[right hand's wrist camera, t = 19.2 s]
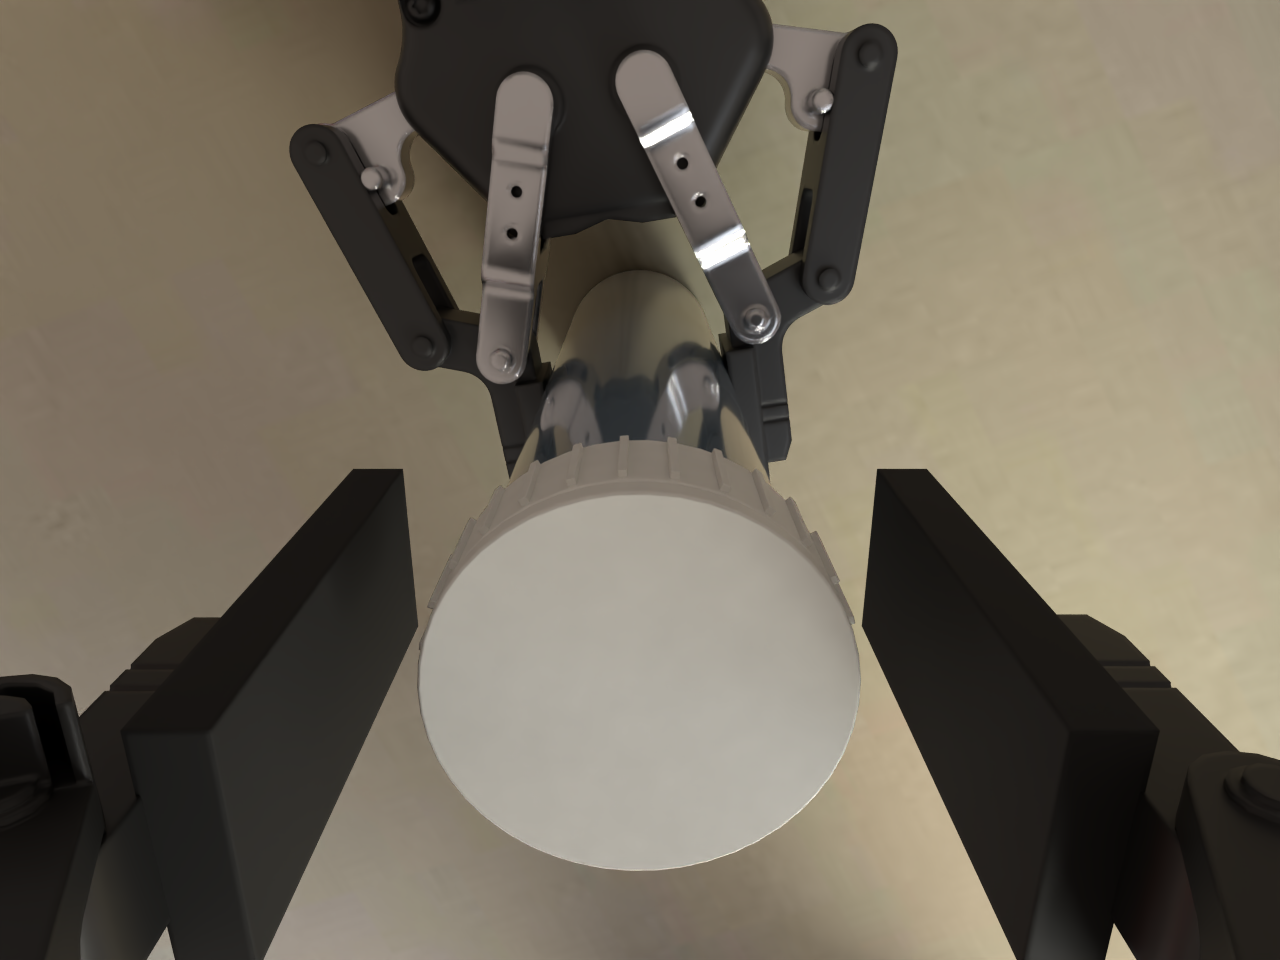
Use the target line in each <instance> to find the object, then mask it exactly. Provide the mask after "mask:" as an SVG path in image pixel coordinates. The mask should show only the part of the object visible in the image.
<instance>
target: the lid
mask: <svg viewBox="0 0 1280 960" xmlns="http://www.w3.org/2000/svg"><path fill="white" fill-rule="evenodd" d="M838 582H840V580H839V578H838V576H837V574H836V572H835V570H834V567H833V565H832V563H831V561H830V559H829V557H828V554H827V552H826V550H825V548H824V546H823V544H822V541H821V539H820V537H819V535H818V533H817V532H816V531H815V532H813V533H811V534H810V533H809V531H808V529H807V528H806V526H805V523H804V521H803V519H802V516H801V514H800V512H799V510H798V507H797V505H796V503H795V501H794V500H793V499H792V498H791V497H789V498H788V499H787V500H785V499H784V498H783V497H782V496H780V495H779V494H778V493H777V492H776V491H775V490H774V489H773V488H772V487H771V486H770V485H769V484H767V483H766V482H765V479H764V476H763V474H762V472H760V471H759V470H757V469H755V470H754V471H753V472H750V471H749V470H747V469H745V468H743V467H741V466H740V465H738V464H736V463H734V462H732V461H730V460H728V459H726V458H724V457H723V454H722V451H721V450H718V449H715V448H714V449H713V451H712V453H710V452H708V451H705V450H702V449H699V448H695V447H690V446H686V445H682V444H678V443H677V440H676V438H672V437H668V439H667V442H662V441H652V440H629V436H628V435H625V436H620V441H615V442H608V443H602V444H595V445H591V446H587V447H584V448H583V446H582V443H578V444H575V445H573V449H572V451H570V452H567V453H565V454H562V455H560V456H557V457H555V458H553V459H550V460H548V461H546V462H544V463H542V464H540V462H539V461H538V460H536V461H534V462H532V463H531V464H530V467H529V470H528V472H527V473H525V474H523V475H522V476H520V477H519V478H518V479H517V480H515V481H514V482H513V483H511V484H510V485H509V486H508V487H506V488H505V489H504V488H503V487H502V486H499V487H498V488H496V489H495V491H494V493H493V495H492V498H491V500H490V502H489V505H488V506H487V507H486V508H485V509H484V511H483V512H482V514H481V515H480V516H479V518H478V519H477V520H474V519H473V518H470V519H469V521H468V522H467V524H466V526H465V528H464V530H463V533H462V535H461V537H460V539H459V541H458V543H457V546H456V548H455V550H454V552H453V554H451V555H450V558H449V560H448V562H447V564H446V566H445V568H444V570H443V573H442V575H441V577H440V579H439V581H438V583H437V586H436V588H435V590H434V592H433V594H432V596H431V598H430V601H429V604H428V608H431V609H433V611H432V613H431V615H430V618H429V621H428V624H427V627H426V630H425V632H424V634H423V636H422V639H421V641H420V645H419V650H420V655H419V661H418V687H417V688H418V696H419V704H420V712H421V716H422V719H423V723H424V726H425V730H426V733H427V737H428V739H429V742H430V744H431V746H432V748H433V751H434V753H435V755H436V757H437V759H438V761H439V763H440V764H441V766H442V768H443V769H444V771H445V772H446V774H447V776H448V777H449V779H450V780H451V782H452V783H453V784H454V785H455V787H456V788H457V789H458V790H459V791H460V793H461V794H462V795H463V796H464V798H465V799H466V800H467V801H468V802H469V803H470V804H471V805H472V806H473V807H474V808H476V809H477V810H478V811H479V812H480V813H481V814H482V815H483V816H484V817H485V818H486V819H488V820H489V821H491V822H492V823H493V824H495V825H496V826H497V827H499V828H500V829H502V830H503V831H504V832H506V833H507V834H509V835H511V836H513V837H514V838H516V839H518V840H520V841H521V842H523V843H525V844H527V845H529V846H531V847H533V848H535V849H538V850H540V851H543V852H545V853H547V854H550V855H552V856H555V857H558V858H561V859H565V860H568V861H571V862H575V863H578V864H583V865H588V866H594V867H599V868H604V869H616V870H628V871H643V870H663V869H671V868H680V867H686V866H690V865H694V864H699V863H703V862H708V861H711V860H714V859H717V858H720V857H723V856H725V855H728V854H731V853H734V852H736V851H738V850H740V849H743V848H745V847H747V846H749V845H751V844H753V843H755V842H757V841H759V840H761V839H762V838H764V837H766V836H767V835H769V834H770V833H772V832H774V831H775V830H777V829H778V828H780V827H781V826H782V825H784V824H785V823H786V822H787V821H789V820H790V819H791V818H793V817H794V816H795V815H796V814H798V813H799V812H800V811H801V810H802V809H803V808H804V807H805V806H806V805H807V804H808V803H809V802H810V801H811V800H812V799H813V798H814V797H815V796H816V795H817V793H818V792H819V791H820V789H821V788H822V787H823V785H824V784H825V783H826V781H827V780H828V779H829V778H830V776H831V775H832V773H833V772H834V770H835V768H836V766H837V764H838V763H839V761H840V759H841V757H842V756H843V754H844V752H845V749H846V746H847V744H848V741H849V739H850V736H851V734H852V731H853V728H854V724H855V719H856V715H857V711H858V706H859V697H860V684H861V676H860V663H859V653H858V649H857V645H856V641H855V636H854V632H853V629H852V626H851V624H855V620H854V616H853V614H852V612H851V610H850V607H849V605H848V603H847V601H846V599H845V596H844V594H843V592H842V590H841V588H840V585H839V583H838Z"/></svg>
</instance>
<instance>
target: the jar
mask: <svg viewBox="0 0 1280 960" xmlns="http://www.w3.org/2000/svg"><path fill="white" fill-rule="evenodd" d="M625 435H628V436H629V440H652V441H662V442H667V439H668V437H672V438H676V440H677V443H678V444H682V445H686V446H690V447H695V448H699V449H702V450H705V451H708V452H710V453H712V451H713V449H714V448H715V449H718V450H721V451H722V454H723V457H724V458H726V459H728V460H730V461H732V462H734V463H736V464H738V465H740V466H741V467H743V468H745V469H747V470H749V471H750V472H753V471H754V470H755V469H757V470H759V471H760V472H762V474H763V476H764V479H765V482H766V483H767V484H769V485H770V486H771V484H770V481H769V479H768V476H767V473H766V471H765V468H764V466H763V463H762V461H761V458H760V455H759V453H758V450H757V448H756V445H755V443H754V440H753V437H752V435H751V432H750V430H749V427H748V424H747V422H746V419H745V417H744V414H743V412H742V409H741V406H740V404H739V401H738V399H737V396H736V394H735V391H734V388H733V386H732V383H731V381H730V378H729V375H728V373H727V370H726V368H725V365H724V363H723V360H722V357H721V355H720V352H719V350H718V347H717V344H716V342H715V339H714V337H713V334H712V332H711V329H710V326H709V324H708V321H707V319H706V316H705V314H704V311H703V309H702V307H701V305H700V304H699V302H698V300H697V299H696V298H695V296H694V295H693V294H692V293H691V292H690V291H689V290H688V289H687V288H686V287H685V286H684V285H682V284H681V283H680V282H678V281H676V280H675V279H673V278H671V277H669V276H667V275H664V274H662V273H658V272H654V271H647V270H632V271H625V272H621V273H618V274H615V275H613V276H610V277H608V278H606V279H605V280H603V281H601V282H600V283H598V284H597V285H596V286H595V287H593V288H592V289H591V290H590V291H589V292H588V293H587V294H586V295H585V297H584V298H583V300H582V301H581V302H580V304H579V306H578V308H577V310H576V312H575V314H574V317H573V319H572V322H571V325H570V327H569V330H568V332H567V335H566V337H565V340H564V342H563V345H562V348H561V350H560V353H559V355H558V358H557V360H556V363H555V365H554V368H553V371H552V373H551V376H550V378H549V381H548V383H547V386H546V388H545V391H544V394H543V396H542V399H541V401H540V404H539V406H538V409H537V411H536V414H535V416H534V419H533V422H532V424H531V427H530V429H529V432H528V434H527V437H526V439H525V442H524V445H523V447H522V450H521V452H520V455H519V457H518V460H517V462H516V465H515V468H514V470H513V473H512V475H511V478H510V480H509V483H508V485H507V487H508V486H509V485H510V484H511V483H513V482H514V481H515V480H517V479H518V478H519V477H520V476H522V475H523V474H525V473H527V472H528V470H529V467H530V464H531V463H532V462H534V461H536V460H538V461H539V462H540V464H542V463H544V462H546V461H548V460H550V459H553V458H555V457H557V456H560V455H562V454H565V453H567V452H570V451H572V449H573V445H575V444H578V443H582V446H583V448H584V447H587V446H591V445H595V444H602V443H608V442H615V441H620V436H625ZM771 487H772V486H771Z"/></svg>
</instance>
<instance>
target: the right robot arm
mask: <svg viewBox="0 0 1280 960" xmlns="http://www.w3.org/2000/svg"><path fill="white" fill-rule="evenodd" d="M417 627H418V620H417V609H416V599H415V589H414V579H413V569H412V558H411V548H410V538H409V528H408V517H407V507H406V497H405V487H404V476H403V469H353V470H352V471H351V472H350V473H349V474H348V475H347V477H346V478H345V479H344V480H343V481H342V482H341V483H340V484H339V486H338V487H337V488H336V489H335V490H334V491H333V492H332V493H331V495H330V496H329V497H328V498H327V499H326V500H325V501H324V502H323V504H322V505H321V506H320V507H319V508H318V509H317V510H316V511H315V512H314V514H313V515H312V516H311V517H310V518H309V519H308V520H307V521H306V523H305V524H304V525H303V526H302V527H301V528H300V529H299V530H298V532H297V533H296V534H295V535H294V536H293V537H292V538H291V539H290V541H289V542H288V543H287V544H286V545H285V546H284V547H283V548H282V550H281V551H280V552H279V553H278V554H277V555H276V556H275V557H274V558H273V560H272V561H271V562H270V563H269V564H268V565H267V566H266V567H265V569H264V570H263V571H262V572H261V573H260V574H259V575H258V576H257V578H256V579H255V580H254V581H253V582H252V583H251V584H250V585H249V587H248V588H247V589H246V590H245V591H244V592H243V593H242V594H241V595H240V597H239V598H238V599H237V600H236V601H235V602H234V603H233V604H232V606H231V607H230V608H229V609H228V610H227V611H226V612H225V613H224V615H223V616H222V617H221V618H192V619H190V620H189V621H187V622H185V623H183V624H182V625H180V626H178V627H176V628H175V629H173V630H171V631H169V632H168V633H166V634H164V635H162V636H161V637H159V638H157V639H155V641H154V642H153V643H152V644H151V645H150V646H149V647H148V648H147V649H146V650H145V651H144V652H143V653H142V654H141V655H140V656H139V657H138V658H137V659H136V660H135V661H134V662H133V663H132V664H131V669H130V670H125V671H124V672H123V673H122V674H121V675H120V676H119V677H118V678H117V679H116V680H115V681H114V682H113V683H112V684H111V685H110V691H104V692H103V693H102V694H101V695H100V696H99V697H98V698H97V699H96V700H95V701H94V702H93V703H92V705H91V706H90V707H89V708H88V709H87V710H86V711H85V712H84V713H83V714H82V715H81V716H80V717H79V716H78V712H77V708H76V704H75V701H74V697H73V693H72V689H71V687H70V686H69V685H67V684H66V683H64V682H63V681H61V680H60V679H58V678H56V677H49V676H42V675H35V674H28V675H17V676H6V677H0V960H147V958H148V956H149V955H150V953H151V951H152V950H153V948H154V947H155V945H156V943H157V942H158V940H159V938H160V937H161V935H162V933H163V932H164V930H165V928H166V927H167V928H168V932H169V937H170V941H171V945H172V949H173V953H174V957H175V960H263V959H264V957H265V955H266V953H267V951H268V948H269V946H270V944H271V942H272V940H273V938H274V936H275V933H276V931H277V929H278V927H279V925H280V923H281V920H282V918H283V916H284V914H285V912H286V910H287V908H288V905H289V903H290V901H291V899H292V897H293V895H294V892H295V890H296V888H297V886H298V884H299V882H300V879H301V877H302V875H303V873H304V871H305V869H306V867H307V864H308V862H309V860H310V858H311V856H312V854H313V851H314V849H315V847H316V845H317V843H318V841H319V839H320V836H321V834H322V832H323V830H324V828H325V826H326V823H327V821H328V819H329V817H330V815H331V813H332V810H333V808H334V806H335V804H336V802H337V800H338V798H339V795H340V793H341V791H342V789H343V787H344V785H345V782H346V780H347V778H348V776H349V774H350V772H351V770H352V767H353V765H354V763H355V761H356V759H357V757H358V754H359V752H360V750H361V748H362V746H363V744H364V741H365V739H366V737H367V735H368V733H369V731H370V729H371V726H372V724H373V722H374V720H375V718H376V716H377V713H378V711H379V709H380V707H381V705H382V703H383V701H384V698H385V696H386V694H387V692H388V690H389V688H390V685H391V683H392V681H393V679H394V677H395V675H396V672H397V670H398V668H399V666H400V664H401V662H402V660H403V657H404V655H405V653H406V651H407V649H408V647H409V644H410V642H411V640H412V638H413V636H414V634H415V632H416V629H417ZM862 627H863V629H864V632H865V634H866V636H867V638H868V640H869V642H870V644H871V647H872V649H873V651H874V653H875V655H876V657H877V660H878V662H879V664H880V666H881V668H882V670H883V672H884V675H885V677H886V679H887V681H888V683H889V685H890V688H891V690H892V692H893V694H894V696H895V698H896V701H897V703H898V705H899V707H900V709H901V711H902V713H903V716H904V718H905V720H906V722H907V724H908V726H909V729H910V731H911V733H912V735H913V737H914V739H915V741H916V744H917V746H918V748H919V750H920V752H921V754H922V757H923V759H924V761H925V763H926V765H927V767H928V770H929V772H930V774H931V776H932V778H933V780H934V782H935V785H936V787H937V789H938V791H939V793H940V795H941V798H942V800H943V802H944V804H945V806H946V808H947V810H948V813H949V815H950V817H951V819H952V821H953V823H954V826H955V828H956V830H957V832H958V834H959V836H960V839H961V841H962V843H963V845H964V847H965V849H966V851H967V854H968V856H969V858H970V860H971V862H972V864H973V867H974V869H975V871H976V873H977V875H978V877H979V879H980V882H981V884H982V886H983V888H984V890H985V892H986V895H987V897H988V899H989V901H990V903H991V905H992V908H993V910H994V912H995V914H996V916H997V918H998V920H999V923H1000V925H1001V927H1002V929H1003V931H1004V933H1005V936H1006V938H1007V940H1008V942H1009V944H1010V946H1011V948H1012V951H1013V953H1014V955H1015V957H1016V959H1017V960H1105V957H1106V953H1107V949H1108V945H1109V941H1110V937H1111V932H1112V928H1113V924H1115V925H1116V927H1117V929H1118V930H1119V932H1120V934H1121V935H1122V937H1123V938H1124V940H1125V942H1126V943H1127V945H1128V947H1129V948H1130V950H1131V952H1132V953H1133V955H1134V956H1135V958H1136V960H1280V760H1277V759H1274V758H1270V757H1267V756H1263V755H1260V754H1255V753H1245V752H1239V751H1238V750H1237V749H1236V748H1235V747H1234V746H1233V745H1232V744H1231V743H1230V742H1229V741H1228V740H1227V739H1226V738H1225V737H1224V736H1223V735H1222V734H1221V733H1220V731H1219V730H1218V729H1217V728H1216V727H1215V726H1214V725H1213V724H1212V723H1211V722H1210V721H1209V720H1208V719H1207V718H1206V717H1205V716H1204V715H1203V714H1202V713H1201V712H1200V711H1199V710H1198V709H1197V708H1196V707H1195V706H1194V705H1193V704H1192V703H1191V702H1190V701H1189V700H1188V699H1187V698H1186V697H1185V696H1184V695H1183V694H1182V693H1181V692H1180V691H1179V690H1178V689H1177V688H1171V682H1170V681H1169V680H1168V679H1167V678H1166V677H1165V676H1164V675H1163V674H1162V673H1161V672H1160V671H1159V670H1158V669H1157V668H1156V667H1155V666H1150V661H1149V660H1148V659H1147V658H1146V657H1145V656H1144V655H1143V654H1142V653H1141V652H1140V651H1139V650H1138V649H1137V648H1136V647H1135V646H1134V645H1133V644H1132V643H1131V642H1130V641H1129V640H1128V639H1127V638H1126V637H1125V636H1124V635H1122V634H1120V633H1118V632H1117V631H1115V630H1113V629H1111V628H1110V627H1108V626H1106V625H1104V624H1103V623H1101V622H1099V621H1097V620H1095V619H1094V618H1092V617H1090V616H1088V615H1056V613H1055V612H1054V611H1053V610H1052V609H1051V608H1050V607H1049V606H1048V604H1047V603H1046V602H1045V601H1044V600H1043V599H1042V598H1041V597H1040V595H1039V594H1038V593H1037V592H1036V591H1035V590H1034V589H1033V588H1032V587H1031V585H1030V584H1029V583H1028V582H1027V581H1026V580H1025V579H1024V578H1023V576H1022V575H1021V574H1020V573H1019V572H1018V571H1017V570H1016V569H1015V567H1014V566H1013V565H1012V564H1011V563H1010V562H1009V561H1008V560H1007V558H1006V557H1005V556H1004V555H1003V554H1002V553H1001V552H1000V551H999V550H998V548H997V547H996V546H995V545H994V544H993V543H992V542H991V541H990V539H989V538H988V537H987V536H986V535H985V534H984V533H983V532H982V530H981V529H980V528H979V527H978V526H977V525H976V524H975V523H974V521H973V520H972V519H971V518H970V517H969V516H968V515H967V514H966V512H965V511H964V510H963V509H962V508H961V507H960V506H959V505H958V504H957V502H956V501H955V500H954V499H953V498H952V497H951V496H950V495H949V493H948V492H947V491H946V490H945V489H944V488H943V487H942V486H941V484H940V483H939V482H938V481H937V480H936V479H935V478H934V477H933V475H932V474H931V473H930V472H929V471H928V470H927V469H877V476H876V487H875V497H874V507H873V517H872V528H871V538H870V548H869V558H868V568H867V579H866V589H865V599H864V609H863V620H862Z"/></svg>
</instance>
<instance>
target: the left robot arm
mask: <svg viewBox="0 0 1280 960" xmlns="http://www.w3.org/2000/svg"><path fill="white" fill-rule="evenodd" d="M398 3H399V8H400V12H401V18H402V47H401V53H400V58H399V62H398V65H397V68H396V73H395V92H393V93H391V94H389V95H387V96H385V97H383V98H382V99H380V100H378V101H376V102H374V103H372V104H370V105H368V106H366V107H364V108H362V109H360V110H359V111H357V112H355V113H353V114H351V115H349V116H347V117H345V118H343V119H341V120H339V121H338V122H336V123H333V124H324V123H323V124H309V125H305V126H303V127H301V128H300V129H298V130H297V131H296V132H295V133H294V135H293V137H292V139H291V141H290V146H289V152H290V157H291V161H292V163H293V165H294V167H295V169H296V170H297V172H298V174H299V176H300V178H301V179H302V181H303V183H304V185H305V186H306V188H307V190H308V192H309V194H310V195H311V197H312V199H313V201H314V202H315V204H316V206H317V208H318V210H319V211H320V213H321V215H322V217H323V219H324V220H325V222H326V224H327V226H328V227H329V229H330V231H331V233H332V235H333V236H334V238H335V240H336V242H337V243H338V245H339V247H340V249H341V251H342V252H343V254H344V256H345V258H346V260H347V261H348V263H349V265H350V267H351V268H352V270H353V272H354V274H355V276H356V277H357V279H358V281H359V283H360V285H361V286H362V288H363V290H364V292H365V293H366V295H367V297H368V299H369V301H370V302H371V304H372V306H373V308H374V309H375V311H376V313H377V315H378V317H379V318H380V320H381V322H382V324H383V326H384V327H385V329H386V331H387V333H388V334H389V336H390V338H391V340H392V342H393V343H394V345H395V347H396V349H397V350H398V352H399V354H400V356H401V357H402V359H403V360H404V361H405V362H406V364H408V365H409V366H410V367H412V368H414V369H417V370H422V371H428V370H432V369H435V368H437V367H442V368H447V369H453V370H458V371H463V372H467V373H470V374H473V375H474V376H476V377H478V378H479V379H480V380H481V381H482V382H483V383H484V384H485V385H486V387H487V388H488V390H489V392H490V395H491V398H492V403H493V407H494V412H495V416H496V421H497V425H498V430H499V434H500V438H501V443H502V446H503V452H504V456H505V461H506V465H507V470H508V474H509V478H511V475H512V473H513V470H514V468H515V465H516V462H517V460H518V457H519V455H520V452H521V450H522V447H523V445H524V442H525V439H526V437H527V434H528V432H529V429H530V427H531V424H532V422H533V419H534V416H535V414H536V411H537V409H538V406H539V404H540V401H541V399H542V396H543V394H544V391H545V388H546V386H547V383H548V381H549V378H550V376H551V373H552V368H551V363H550V362H546V363H541V358H540V353H539V348H538V343H537V338H538V330H539V322H540V314H541V305H542V297H543V289H544V282H545V276H546V272H547V267H548V260H549V253H550V244H551V238H554V237H560V236H566V235H572V234H576V233H578V232H580V231H583V230H585V229H587V228H589V227H591V226H593V225H595V224H597V223H600V222H602V221H604V220H607V219H614V220H624V221H633V222H642V223H643V222H649V221H655V220H661V219H667V218H673V217H676V216H677V218H678V220H679V222H680V224H681V227H682V229H683V231H684V233H685V235H686V237H687V239H688V241H689V243H690V245H691V247H692V249H693V251H694V253H695V255H696V257H697V259H698V261H699V263H700V266H701V268H702V270H703V272H704V274H705V276H706V278H707V280H708V282H709V284H710V286H711V288H712V290H713V292H714V294H715V296H716V299H717V301H718V303H719V305H720V307H721V309H722V311H723V313H724V320H725V328H726V333H723V334H718V335H719V342H720V350H721V357H722V360H723V363H724V365H725V368H726V370H727V373H728V375H729V378H730V381H731V383H732V386H733V388H734V391H735V394H736V396H737V399H738V401H739V404H740V406H741V409H742V412H743V414H744V417H745V419H746V422H747V424H748V427H749V430H750V432H751V435H752V437H753V440H754V443H755V445H756V448H757V450H758V453H759V455H760V458H761V461H762V463H763V466H764V468H765V471H766V473H767V476H768V479H769V481H770V477H769V468H768V462H775V461H781V460H786V458H787V454H788V451H789V448H790V444H791V441H792V438H791V429H790V420H789V411H788V404H787V392H786V383H785V374H784V365H783V356H782V341H783V337H784V335H785V332H786V331H787V329H788V327H789V326H790V325H791V324H792V323H793V322H794V321H795V320H797V319H798V318H800V317H801V316H803V315H805V314H807V313H809V312H811V311H813V310H814V309H816V308H818V307H820V306H822V305H831V304H835V303H838V302H840V301H842V300H843V299H844V298H845V297H846V296H847V295H848V294H849V293H850V291H851V289H852V287H853V284H854V280H855V275H856V269H857V264H858V259H859V254H860V249H861V243H862V238H863V233H864V228H865V223H866V217H867V212H868V207H869V202H870V197H871V191H872V186H873V181H874V176H875V170H876V165H877V160H878V155H879V150H880V144H881V139H882V134H883V129H884V124H885V118H886V113H887V108H888V103H889V98H890V92H891V87H892V82H893V77H894V71H895V66H896V61H897V54H898V48H897V43H896V40H895V38H894V36H893V34H892V33H891V32H890V31H889V30H888V29H887V28H886V27H884V26H882V25H879V24H873V23H872V24H865V25H862V26H860V27H858V28H856V29H854V30H852V31H850V32H847V33H841V32H833V31H825V30H817V29H809V28H801V27H793V26H785V25H777V24H772V21H771V18H770V15H769V12H768V10H767V8H766V6H765V5H764V3H763V2H762V0H398ZM764 73H768V74H770V75H772V76H773V77H775V78H776V79H777V80H778V81H779V82H780V84H781V86H782V88H783V90H784V94H785V111H786V115H787V117H788V119H789V121H790V122H791V124H792V125H793V126H795V127H796V128H798V129H800V130H802V131H808V132H809V135H808V141H807V147H806V153H805V159H804V165H803V171H802V177H801V183H800V189H799V195H798V201H797V207H796V213H795V219H794V225H793V232H792V238H791V244H790V250H789V255H788V256H787V257H785V258H783V259H781V260H779V261H778V262H776V263H774V264H772V265H770V266H769V267H767V268H765V269H763V270H761V268H760V266H759V264H758V262H757V259H756V257H755V255H754V253H753V251H752V249H751V246H750V244H749V242H748V239H747V236H746V233H745V231H744V228H743V226H742V224H741V222H740V219H739V217H738V215H737V213H736V211H735V209H734V206H733V204H732V202H731V200H730V198H729V196H728V193H727V191H726V189H725V187H724V185H723V183H722V180H721V178H720V176H719V174H718V172H717V170H716V168H717V166H718V164H719V162H720V160H721V158H722V156H723V154H724V152H725V150H726V148H727V146H728V144H729V142H730V140H731V138H732V136H733V134H734V132H735V130H736V128H737V126H738V124H739V122H740V120H741V118H742V116H743V114H744V112H745V110H746V108H747V106H748V104H749V102H750V100H751V98H752V96H753V94H754V92H755V90H756V88H757V86H758V84H759V82H760V80H761V78H762V76H763V74H764ZM418 135H420V136H421V137H422V138H423V139H424V140H425V141H426V142H427V143H428V144H429V145H430V146H431V147H432V148H433V149H434V150H435V151H436V152H437V153H438V154H439V155H440V156H441V157H442V158H443V159H444V160H445V161H446V162H447V163H448V164H449V165H450V166H451V167H452V168H453V169H454V170H455V171H456V172H457V173H458V174H459V175H460V176H461V177H462V178H463V179H465V180H466V181H467V182H468V183H469V184H470V185H471V186H472V187H473V188H474V189H475V190H476V191H477V192H478V193H479V194H480V195H481V196H482V197H483V198H484V199H485V200H486V201H487V202H488V206H487V217H486V227H485V237H484V248H483V258H482V270H481V279H482V284H483V292H482V302H481V313H480V314H478V313H473V312H468V311H462V310H459V308H458V306H457V304H456V302H455V301H454V299H453V297H452V295H451V293H450V291H449V289H448V287H447V285H446V283H445V282H444V280H443V278H442V276H441V274H440V272H439V270H438V268H437V266H436V265H435V263H434V261H433V259H432V257H431V255H430V253H429V251H428V249H427V248H426V246H425V244H424V242H423V240H422V238H421V236H420V234H419V232H418V230H417V229H416V227H415V225H414V223H413V221H412V219H411V217H410V215H409V213H408V212H407V210H406V208H405V206H404V204H403V202H402V200H404V199H405V198H407V197H408V196H409V194H410V193H411V191H412V189H413V187H414V181H415V177H414V171H413V169H412V166H411V163H410V148H411V144H412V142H413V141H414V139H415V138H416V137H417V136H418ZM675 214H676V215H675Z"/></svg>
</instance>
